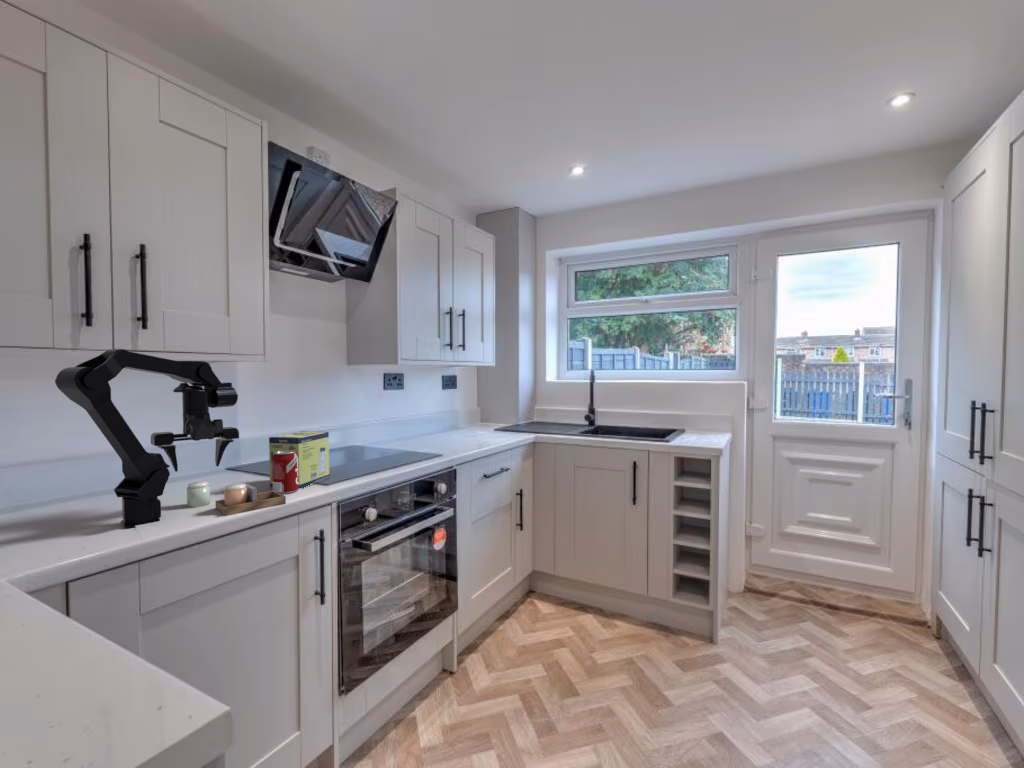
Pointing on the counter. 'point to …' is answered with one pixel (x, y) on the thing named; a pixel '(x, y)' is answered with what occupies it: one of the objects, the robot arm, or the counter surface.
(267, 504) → the wooden tray
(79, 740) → the counter surface
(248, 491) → the bar
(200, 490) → the sage jar
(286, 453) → the soda can
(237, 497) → the terracotta jar
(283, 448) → the protein box
